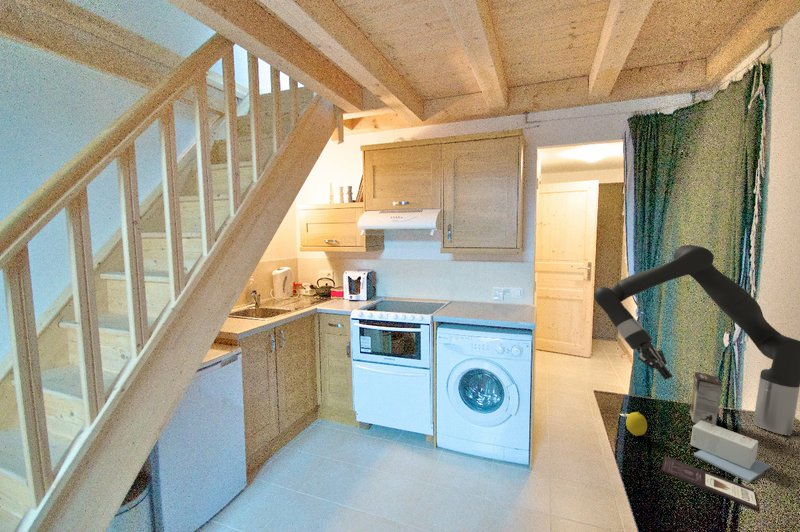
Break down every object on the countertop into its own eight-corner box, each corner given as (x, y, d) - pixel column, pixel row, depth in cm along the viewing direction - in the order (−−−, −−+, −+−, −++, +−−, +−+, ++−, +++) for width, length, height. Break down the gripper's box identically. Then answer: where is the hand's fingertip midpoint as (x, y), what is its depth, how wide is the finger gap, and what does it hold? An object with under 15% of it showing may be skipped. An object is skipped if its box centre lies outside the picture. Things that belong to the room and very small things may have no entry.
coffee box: (688, 412, 127) (694, 371, 125) (711, 418, 123) (717, 376, 122) (691, 422, 119) (697, 378, 118) (716, 429, 116) (722, 384, 114)
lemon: (644, 435, 109) (647, 411, 108) (646, 443, 104) (649, 418, 104) (624, 429, 112) (627, 406, 111) (624, 436, 107) (627, 412, 106)
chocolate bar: (664, 455, 98) (753, 489, 85) (663, 458, 98) (752, 492, 86) (661, 469, 91) (757, 508, 79) (660, 473, 91) (756, 512, 79)
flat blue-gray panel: (715, 443, 106) (716, 442, 106) (770, 467, 96) (770, 465, 96) (693, 455, 99) (693, 453, 99) (749, 482, 89) (749, 480, 89)
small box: (689, 445, 104) (749, 470, 93) (692, 425, 103) (752, 448, 92) (698, 438, 108) (756, 461, 97) (700, 419, 108) (759, 440, 97)
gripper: (632, 330, 119) (669, 376, 109) (651, 327, 125) (688, 370, 115) (615, 340, 124) (649, 385, 114) (635, 337, 130) (669, 379, 120)
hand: (669, 378), depth 114 cm, fingers closed
